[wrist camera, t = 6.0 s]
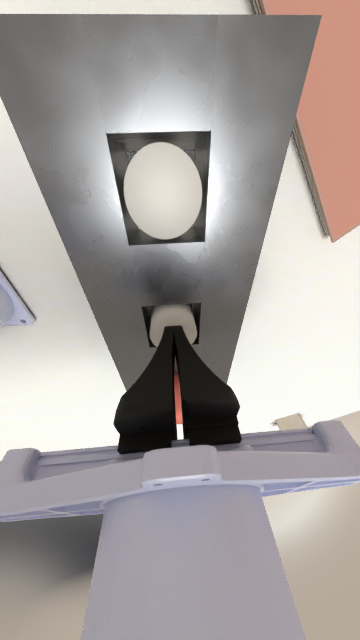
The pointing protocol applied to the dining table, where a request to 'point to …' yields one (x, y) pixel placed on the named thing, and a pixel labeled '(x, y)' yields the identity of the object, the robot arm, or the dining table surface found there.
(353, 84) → the notebook
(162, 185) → the plug
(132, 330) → the block
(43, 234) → the dining table surface
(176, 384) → the red plug
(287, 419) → the architectural model
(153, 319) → the plug
